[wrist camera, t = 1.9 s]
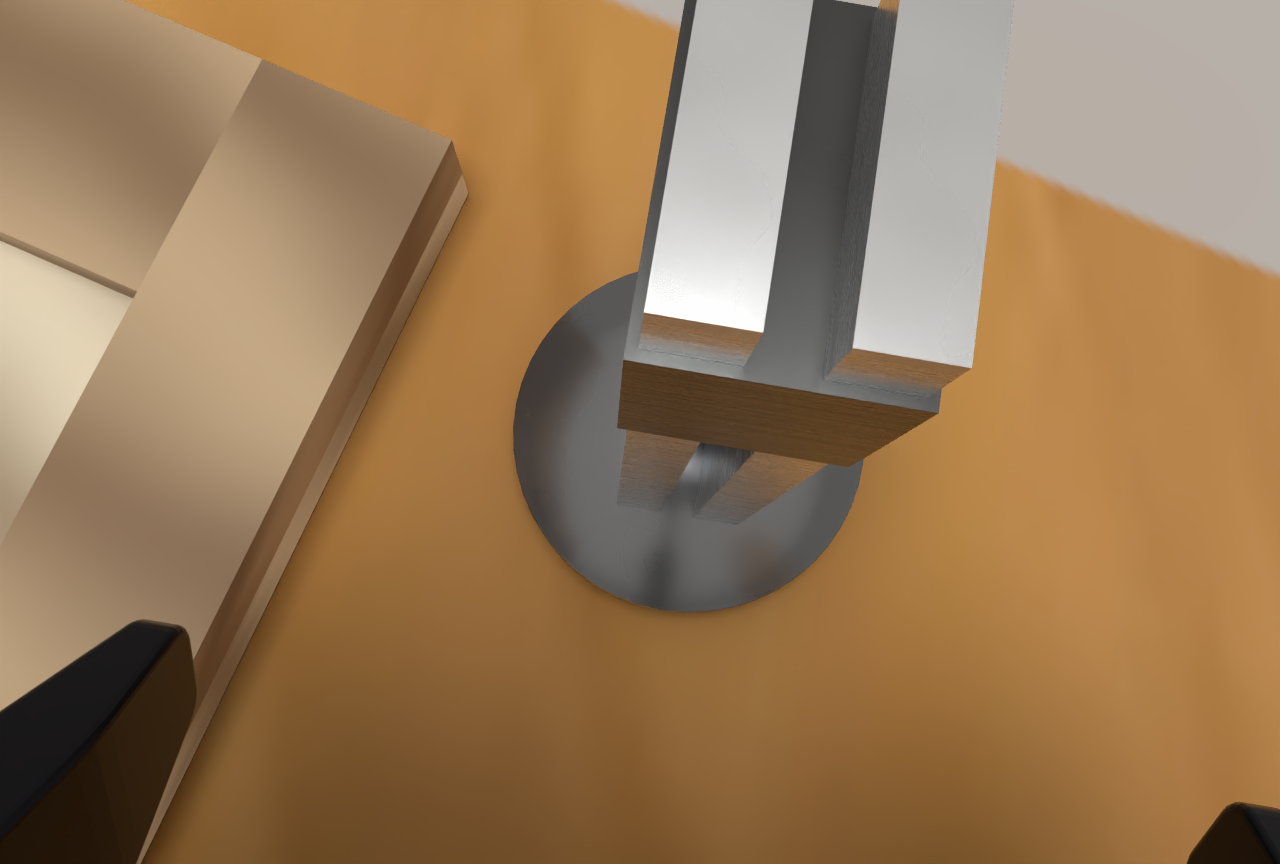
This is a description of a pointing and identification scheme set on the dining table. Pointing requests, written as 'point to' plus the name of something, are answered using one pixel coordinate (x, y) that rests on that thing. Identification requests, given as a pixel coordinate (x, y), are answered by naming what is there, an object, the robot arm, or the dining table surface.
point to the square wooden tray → (183, 325)
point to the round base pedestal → (772, 296)
